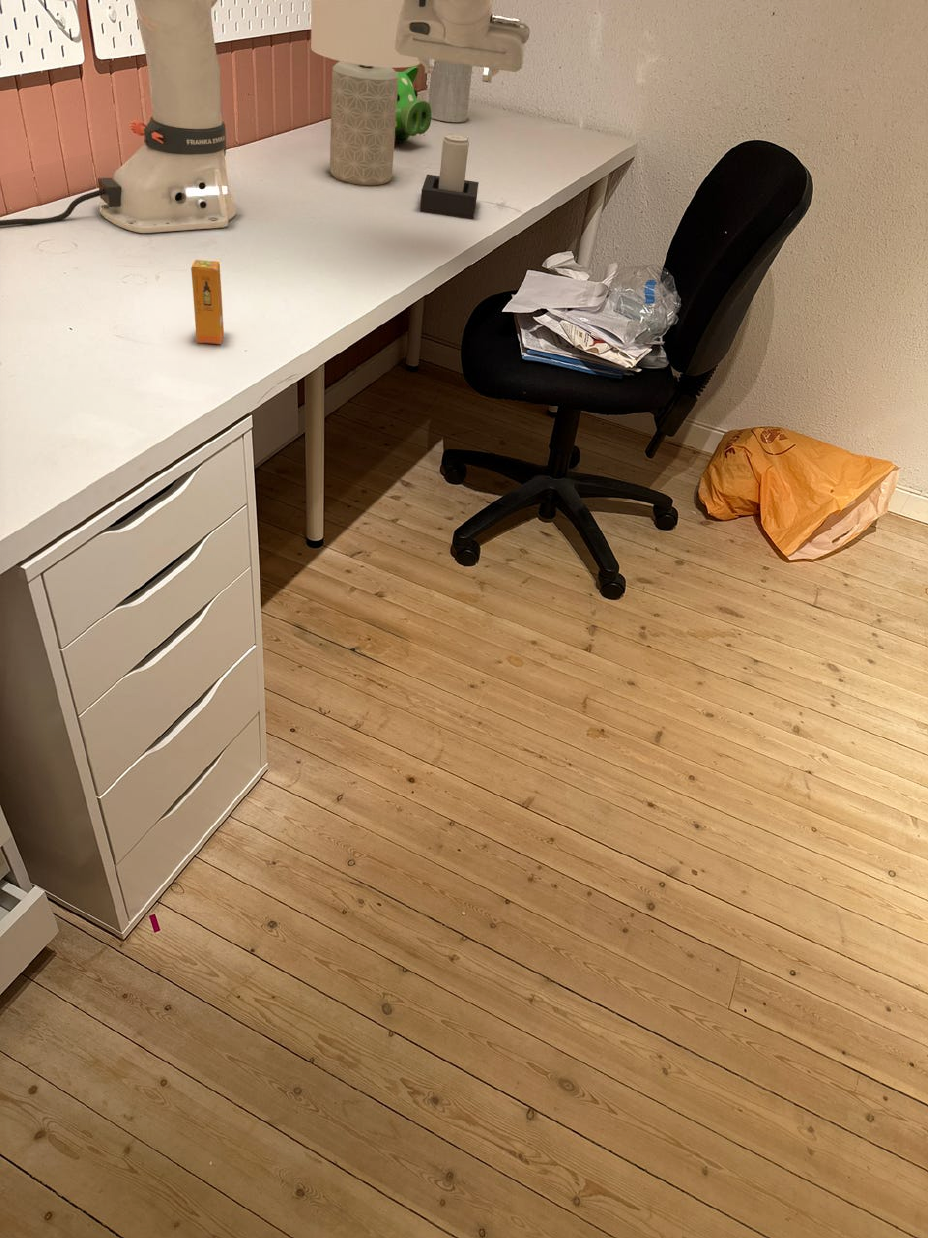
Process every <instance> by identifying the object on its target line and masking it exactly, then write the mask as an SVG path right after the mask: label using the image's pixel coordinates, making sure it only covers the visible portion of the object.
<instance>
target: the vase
mask: <svg viewBox="0 0 928 1238" xmlns="http://www.w3.org/2000/svg"><path fill="white" fill-rule="evenodd" d="M472 72H473V66H471V65H465V64H458V63H451V62H445V61H438V60H435V69H434V74H430V79H429V90H428V91H429V92H428V101H427V102H428V103H429V104H430V106H431V120H432V119H433V120H435V121H439V122H444V123H453V124H458V123H464V122H466V121H467V117H468V110H469V109H468V108H469V100H470V91H471V81H472Z"/></svg>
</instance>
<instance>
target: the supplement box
mask: <svg viewBox="0 0 928 1238" xmlns="http://www.w3.org/2000/svg"><path fill="white" fill-rule="evenodd" d="M190 272H191V282H192V295H193V309H194V324H195V340H196V343H198V344H199V343H201V344H213V345H214V344H215V345H222V342H223V339H224V336H225V330H224V329H225V328H224V313H223V311H224V309H223V295H222V279H221V277H222V276H221V266H220V261H217V260H202V259H195V260H194V261H193V263H192V265H191V267H190Z"/></svg>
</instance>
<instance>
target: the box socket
mask: <svg viewBox="0 0 928 1238" xmlns="http://www.w3.org/2000/svg"><path fill="white" fill-rule="evenodd" d="M439 176H440V175H433V174H426V177H425V179H424V182H423V185H422V188H421V195H420V208H419V212H422V213H429V214H434V215H435V214H436V215H442V216H450V217H457V218H462V219H470V220H474V217H475V212H476V205H477V200H478V190H479V181H473V180H466V179H465V180H464V189H463V192H457V191H450V190H443V189H438V187H439Z"/></svg>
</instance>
